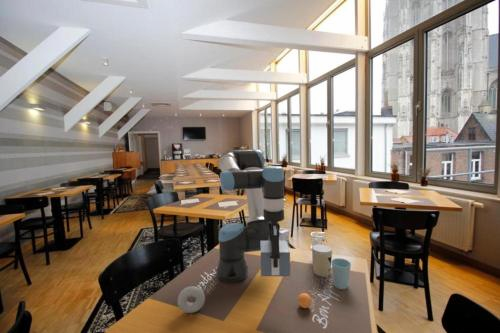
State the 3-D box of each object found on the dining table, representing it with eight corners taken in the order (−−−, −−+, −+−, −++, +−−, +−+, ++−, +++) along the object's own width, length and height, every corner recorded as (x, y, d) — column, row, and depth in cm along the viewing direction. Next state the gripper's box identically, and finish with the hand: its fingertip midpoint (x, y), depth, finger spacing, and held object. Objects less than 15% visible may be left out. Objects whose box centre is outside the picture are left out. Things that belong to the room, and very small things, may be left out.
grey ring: (177, 317, 88) (176, 291, 87) (178, 310, 91) (177, 285, 90) (205, 313, 89) (204, 287, 88) (205, 307, 93) (204, 282, 92)
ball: (316, 301, 91) (308, 311, 91) (307, 290, 95) (300, 300, 95) (309, 300, 88) (301, 311, 88) (300, 289, 92) (292, 299, 92)
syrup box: (281, 252, 137) (280, 227, 135) (289, 255, 133) (289, 230, 131) (274, 255, 133) (274, 230, 132) (282, 259, 129) (282, 232, 127)
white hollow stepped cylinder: (325, 263, 123) (325, 234, 122) (311, 262, 125) (311, 234, 123) (323, 256, 130) (323, 229, 129) (310, 256, 132) (310, 229, 130)
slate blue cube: (261, 276, 86) (260, 252, 85) (260, 262, 96) (260, 240, 95) (290, 276, 85) (289, 252, 84) (286, 261, 96) (286, 240, 95)
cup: (343, 279, 109) (344, 257, 108) (354, 289, 101) (354, 266, 100) (328, 281, 108) (328, 259, 106) (337, 292, 100) (337, 268, 99)
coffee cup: (333, 278, 110) (333, 253, 109) (312, 276, 112) (312, 251, 111) (330, 267, 119) (331, 244, 118) (311, 266, 121) (311, 243, 120)
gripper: (287, 218, 77) (288, 284, 79) (281, 201, 100) (281, 252, 102) (264, 218, 77) (265, 284, 79) (262, 201, 100) (263, 252, 102)
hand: (274, 266), depth 91 cm, fingers closed on slate blue cube, 10 cm apart
